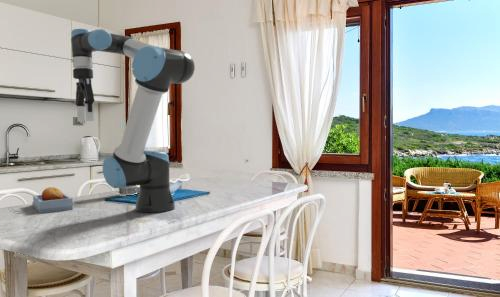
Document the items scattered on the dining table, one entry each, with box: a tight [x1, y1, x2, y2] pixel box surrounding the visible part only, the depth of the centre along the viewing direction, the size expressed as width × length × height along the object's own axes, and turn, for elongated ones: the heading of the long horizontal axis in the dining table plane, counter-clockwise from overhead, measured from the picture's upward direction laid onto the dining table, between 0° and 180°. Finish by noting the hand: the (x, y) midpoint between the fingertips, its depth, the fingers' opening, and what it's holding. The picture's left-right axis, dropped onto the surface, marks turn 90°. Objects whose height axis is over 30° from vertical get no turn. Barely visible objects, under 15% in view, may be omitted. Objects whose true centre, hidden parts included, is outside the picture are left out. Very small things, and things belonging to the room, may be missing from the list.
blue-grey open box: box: [32, 192, 74, 214], centre depth 184 cm, size 12×22×4 cm, turn 33°
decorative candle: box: [118, 186, 138, 197], centre depth 213 cm, size 9×9×25 cm
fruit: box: [41, 186, 63, 201], centre depth 183 cm, size 8×8×8 cm
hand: (85, 121), depth 179 cm, fingers open, 13 cm apart
